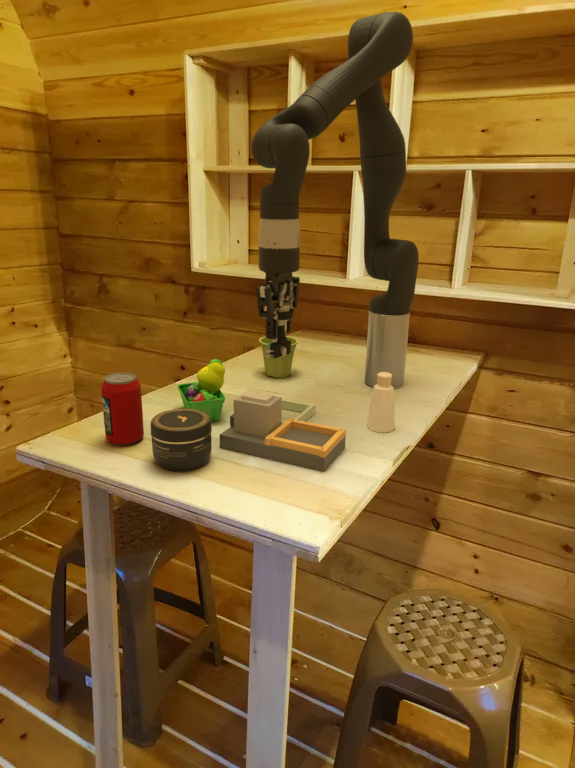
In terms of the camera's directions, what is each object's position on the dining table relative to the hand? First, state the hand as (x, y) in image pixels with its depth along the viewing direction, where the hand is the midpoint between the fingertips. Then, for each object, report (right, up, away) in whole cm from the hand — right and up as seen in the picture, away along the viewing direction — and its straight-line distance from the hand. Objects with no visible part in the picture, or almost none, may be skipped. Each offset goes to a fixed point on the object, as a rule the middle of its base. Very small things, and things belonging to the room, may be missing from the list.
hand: (278, 334), depth 112 cm
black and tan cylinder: (0, -4, +1) cm, 4 cm away
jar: (-16, -23, -12) cm, 30 cm away
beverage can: (-28, -20, -5) cm, 35 cm away
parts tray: (0, -16, +6) cm, 17 cm away
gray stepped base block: (+1, -21, -7) cm, 22 cm away
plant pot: (-1, -7, +32) cm, 33 cm away
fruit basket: (-15, -16, +7) cm, 23 cm away
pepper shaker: (+20, -18, +2) cm, 27 cm away
